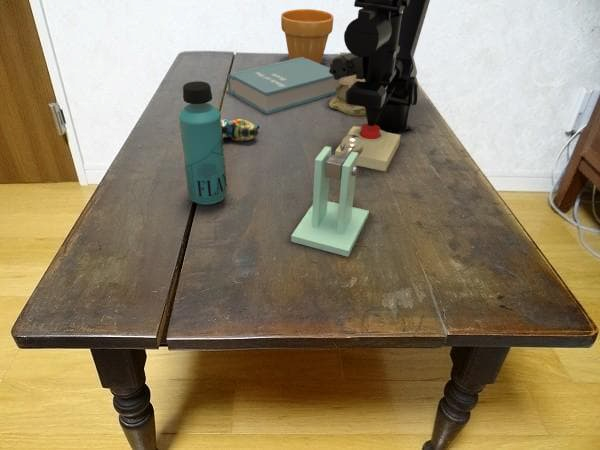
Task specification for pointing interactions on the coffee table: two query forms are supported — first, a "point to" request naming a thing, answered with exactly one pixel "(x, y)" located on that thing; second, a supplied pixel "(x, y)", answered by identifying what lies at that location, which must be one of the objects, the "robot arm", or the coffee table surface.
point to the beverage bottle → (202, 145)
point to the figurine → (238, 129)
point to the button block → (375, 149)
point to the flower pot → (306, 33)
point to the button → (370, 131)
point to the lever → (343, 156)
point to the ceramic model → (341, 97)
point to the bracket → (332, 211)
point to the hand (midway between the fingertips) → (371, 125)
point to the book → (282, 84)
